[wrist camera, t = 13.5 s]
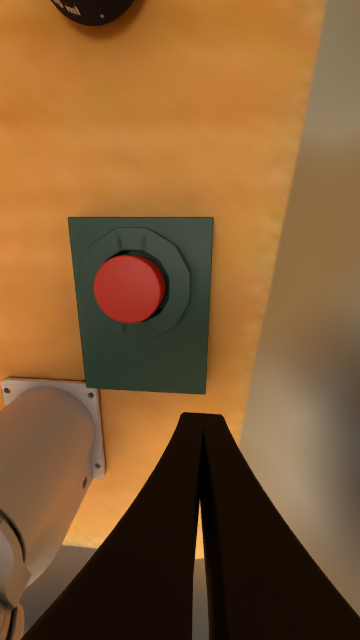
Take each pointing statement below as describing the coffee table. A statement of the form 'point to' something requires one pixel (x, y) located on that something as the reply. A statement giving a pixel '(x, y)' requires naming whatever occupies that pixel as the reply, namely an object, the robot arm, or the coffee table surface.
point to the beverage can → (92, 10)
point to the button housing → (167, 320)
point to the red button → (129, 288)
